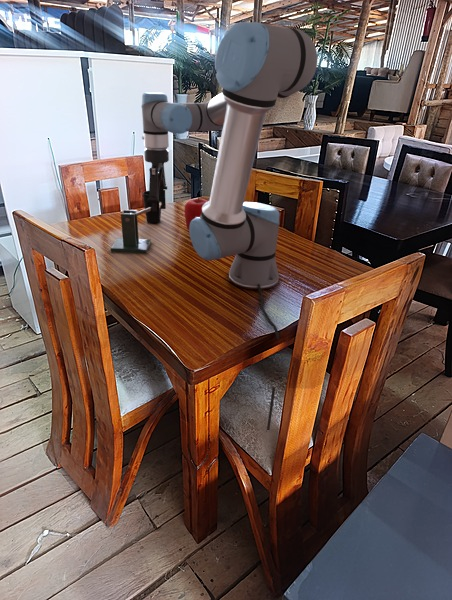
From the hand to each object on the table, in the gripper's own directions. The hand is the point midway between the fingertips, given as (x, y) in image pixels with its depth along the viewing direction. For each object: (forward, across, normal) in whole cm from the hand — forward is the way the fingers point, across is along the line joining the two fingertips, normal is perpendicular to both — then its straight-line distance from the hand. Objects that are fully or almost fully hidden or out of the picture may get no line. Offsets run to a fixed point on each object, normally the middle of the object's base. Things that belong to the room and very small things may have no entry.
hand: (158, 214), depth 135 cm
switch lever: (0, 0, -5) cm, 5 cm away
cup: (+13, -29, -7) cm, 32 cm away
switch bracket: (+12, 0, -10) cm, 16 cm away
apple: (+13, -19, +12) cm, 26 cm away
